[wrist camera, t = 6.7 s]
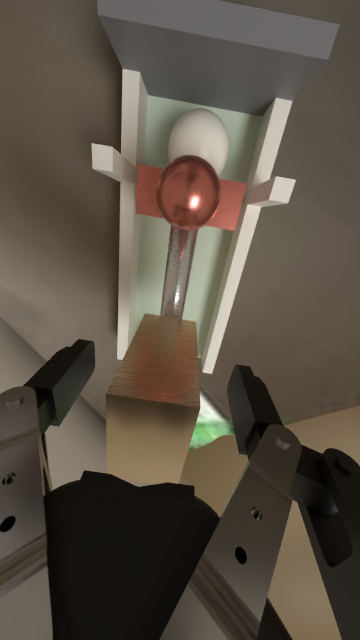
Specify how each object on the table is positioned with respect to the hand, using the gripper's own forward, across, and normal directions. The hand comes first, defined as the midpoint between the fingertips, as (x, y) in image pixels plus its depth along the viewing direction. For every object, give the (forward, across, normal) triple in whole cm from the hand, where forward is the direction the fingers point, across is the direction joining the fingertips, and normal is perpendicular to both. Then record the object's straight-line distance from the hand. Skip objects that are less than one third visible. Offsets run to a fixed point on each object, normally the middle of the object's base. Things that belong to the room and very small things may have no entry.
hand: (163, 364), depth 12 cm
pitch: (+11, 0, -4) cm, 12 cm away
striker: (+9, 0, -4) cm, 10 cm away
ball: (+8, 0, -12) cm, 14 cm away
